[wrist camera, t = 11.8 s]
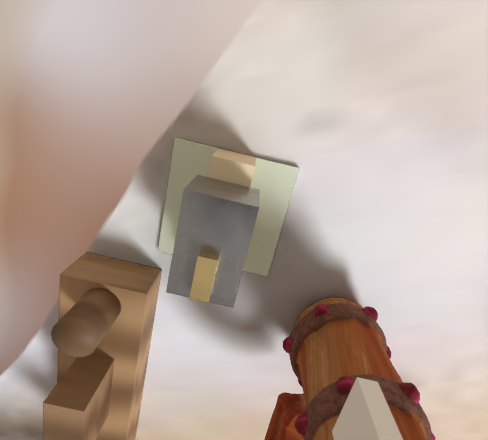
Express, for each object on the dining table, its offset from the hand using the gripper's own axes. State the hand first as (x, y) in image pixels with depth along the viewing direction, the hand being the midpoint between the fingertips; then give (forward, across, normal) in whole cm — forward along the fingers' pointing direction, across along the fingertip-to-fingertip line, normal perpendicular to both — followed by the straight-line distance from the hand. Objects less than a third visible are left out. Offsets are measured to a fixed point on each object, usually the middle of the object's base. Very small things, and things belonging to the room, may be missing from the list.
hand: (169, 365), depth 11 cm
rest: (+16, 0, -1) cm, 16 cm away
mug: (+17, -11, +10) cm, 23 cm away
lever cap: (+12, 0, -1) cm, 12 cm away
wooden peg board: (+17, +8, +18) cm, 26 cm away
